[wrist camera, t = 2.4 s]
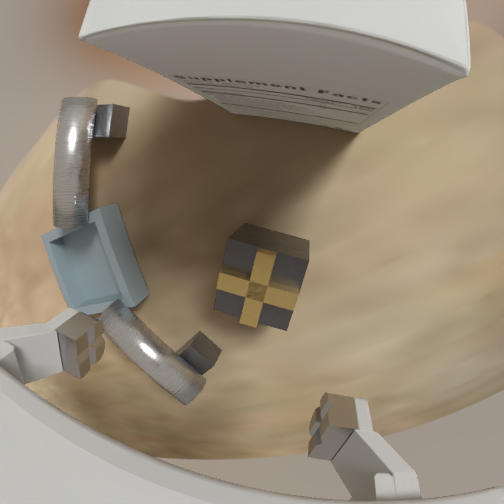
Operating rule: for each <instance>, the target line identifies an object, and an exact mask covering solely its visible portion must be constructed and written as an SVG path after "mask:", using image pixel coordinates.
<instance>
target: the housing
mask: <svg viewBox="0 0 504 504" xmlns="http://www.w3.org/2000/svg"><path fill="white" fill-rule="evenodd" d="M41 237H42V240H43V243H44V246H45V249H46V252H47V255H48V257H49V260H50V263H51V266H52V268H53V271H54V274H55V276H56V279H57V281H58V284H59V286H60V289H61V291H62V294H63V296H64V298H65V301H66V303H67V305H68V308H69V307H73V308H75V309H77V310H79V311H81V312H83V313H85V314H87V315H90V314H96V313H102V312H104V310H105V309H106V308H107V307H108V306H109V305H111V304H112V303H113V302H114V301H115V300H117V299H120V300H121V301H122V302H123V303H124V304H125V305H126V306H127V307H128V308H130V307H135V306H136V305H138V304H139V303H140V302H141V301H142V300H143V299H144V298H146V297H147V296H148V295H149V291H148V289H147V286H146V283H145V281H144V278H143V276H142V273H141V271H140V268H139V265H138V263H137V260H136V257H135V254H134V252H133V249H132V246H131V243H130V240H129V237H128V234H127V232H126V229H125V226H124V223H123V220H122V216H121V213H120V210H119V207H118V204H117V203H115V204H111V205H107V206H104V207H100V208H97V209H95V210H93V211H91V212H89V213H88V224H87V225H85V226H83V227H78V228H56V229H54V230H52V231H50V232H48V233H46V234H44V235H42V236H41Z"/></svg>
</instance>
